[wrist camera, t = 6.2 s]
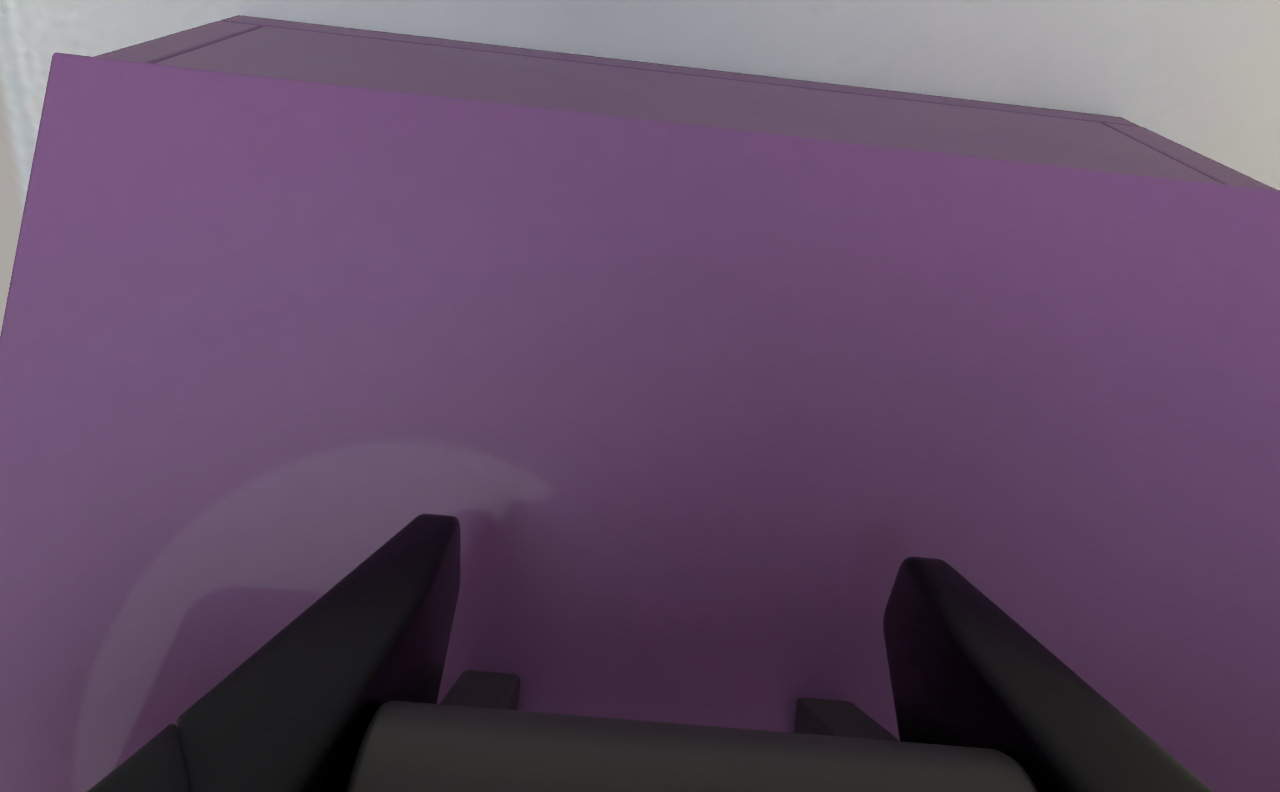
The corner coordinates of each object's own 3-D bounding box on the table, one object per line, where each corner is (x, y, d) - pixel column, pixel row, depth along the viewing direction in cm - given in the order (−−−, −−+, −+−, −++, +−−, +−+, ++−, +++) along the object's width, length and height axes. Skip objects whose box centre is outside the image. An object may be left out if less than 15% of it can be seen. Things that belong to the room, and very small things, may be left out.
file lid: (1285, 1358, 10) (1942, 2178, 5) (-140, 1288, 9) (-951, 2165, 4) (1285, 208, 12) (1780, 4, 7) (79, 73, 11) (-331, -263, 6)
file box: (924, 629, 23) (984, 790, 19) (305, 575, 22) (227, 730, 18) (1123, 117, 16) (1287, 192, 12) (235, 14, 15) (81, 57, 11)
